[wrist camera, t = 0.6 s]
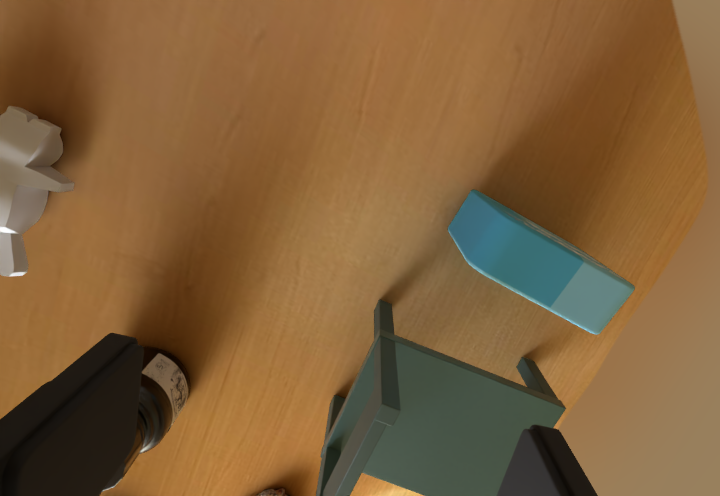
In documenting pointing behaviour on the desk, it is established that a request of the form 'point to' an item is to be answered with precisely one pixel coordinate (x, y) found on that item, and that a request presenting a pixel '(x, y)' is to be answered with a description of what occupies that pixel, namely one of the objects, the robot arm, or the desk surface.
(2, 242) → the bunny figurine
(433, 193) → the desk surface
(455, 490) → the chair
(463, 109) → the desk surface
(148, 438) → the ink bottle
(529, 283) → the light blue rounded block
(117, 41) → the desk surface
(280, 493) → the mineral rock
